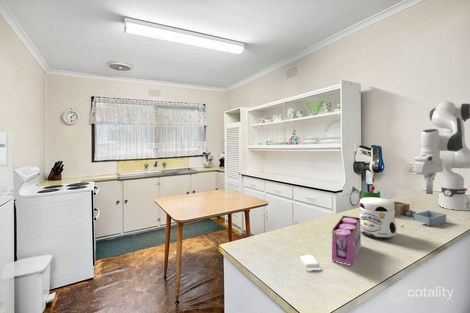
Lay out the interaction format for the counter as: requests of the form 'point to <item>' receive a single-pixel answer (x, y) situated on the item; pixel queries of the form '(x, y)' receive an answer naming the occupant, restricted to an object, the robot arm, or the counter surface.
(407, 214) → the bracket
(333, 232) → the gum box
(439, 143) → the robot arm
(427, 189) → the pin
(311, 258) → the soap
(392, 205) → the milk container
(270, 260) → the counter surface
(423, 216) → the tray
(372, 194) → the motor
